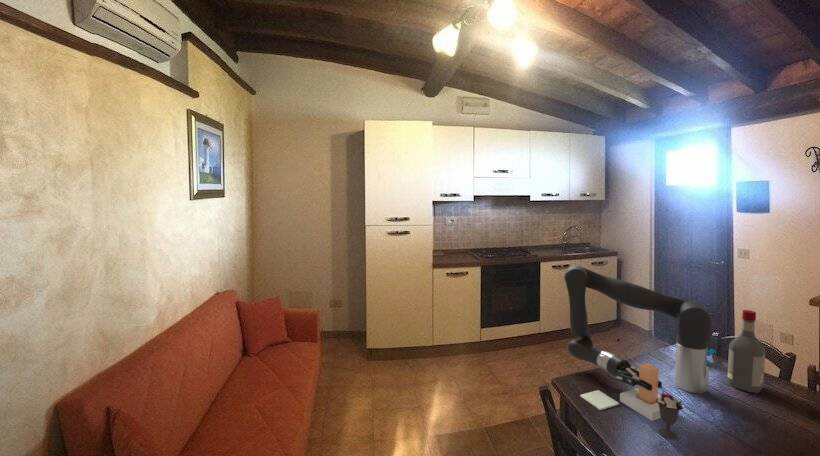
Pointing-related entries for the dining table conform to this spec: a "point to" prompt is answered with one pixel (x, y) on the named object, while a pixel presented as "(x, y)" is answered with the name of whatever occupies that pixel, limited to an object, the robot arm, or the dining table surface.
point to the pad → (599, 400)
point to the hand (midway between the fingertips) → (656, 386)
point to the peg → (651, 377)
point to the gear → (710, 354)
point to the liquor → (746, 357)
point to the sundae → (668, 413)
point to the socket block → (640, 404)
